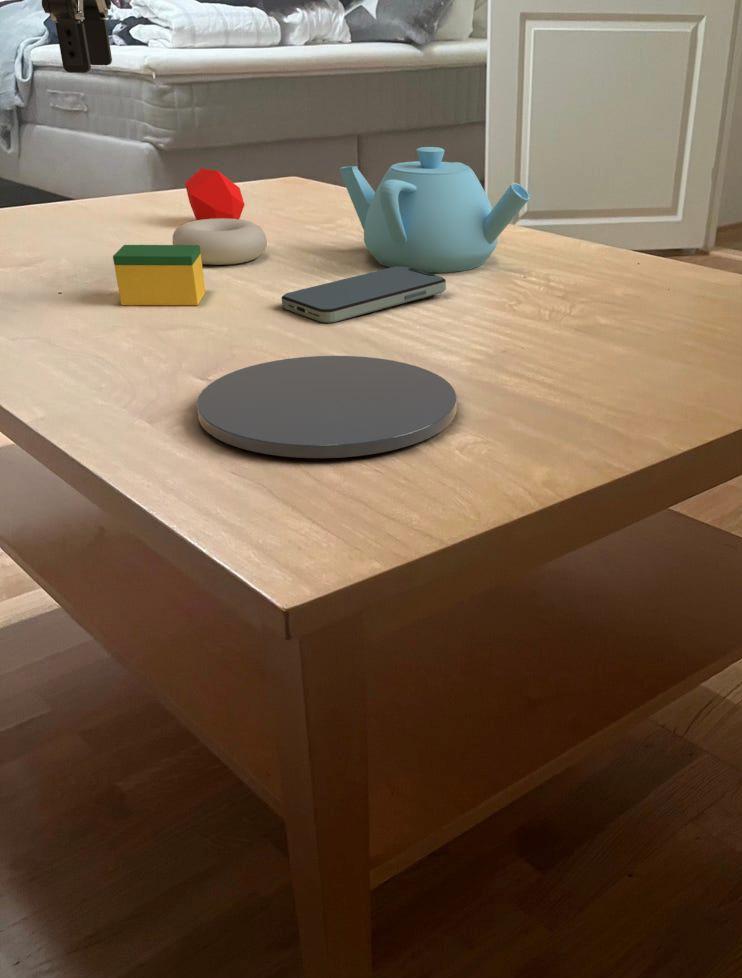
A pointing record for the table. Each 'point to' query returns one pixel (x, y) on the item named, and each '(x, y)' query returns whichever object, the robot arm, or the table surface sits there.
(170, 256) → the sponge
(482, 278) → the table surface
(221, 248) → the donut
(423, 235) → the teapot
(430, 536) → the table surface
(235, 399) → the plate
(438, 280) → the smartphone
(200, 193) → the faceted red jewel
